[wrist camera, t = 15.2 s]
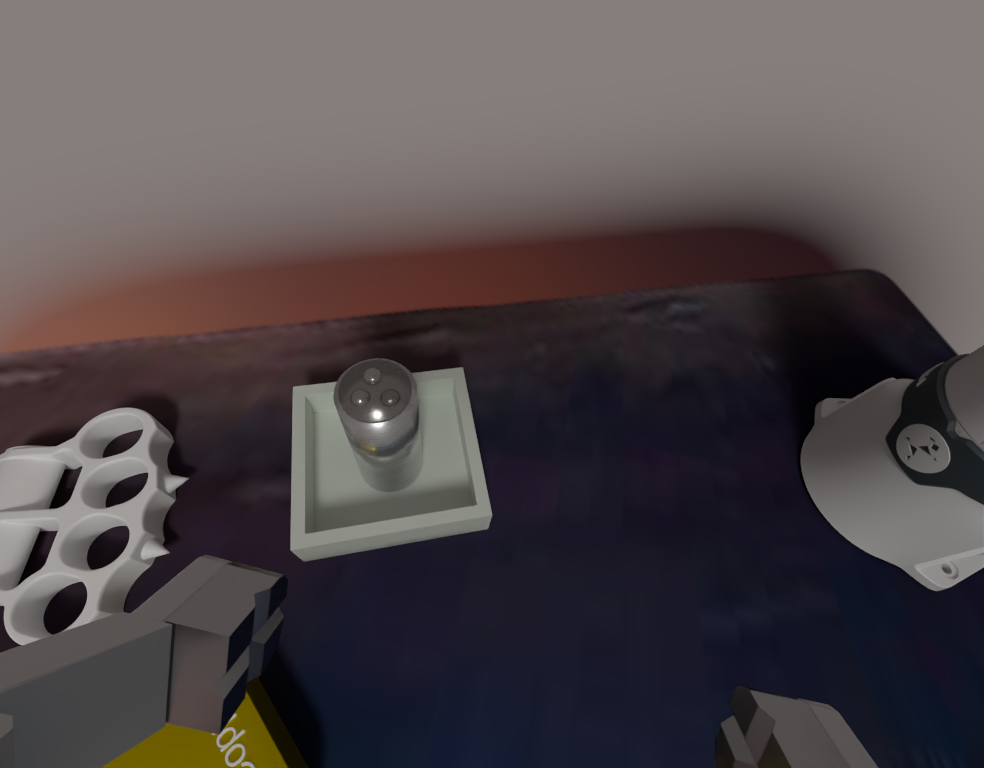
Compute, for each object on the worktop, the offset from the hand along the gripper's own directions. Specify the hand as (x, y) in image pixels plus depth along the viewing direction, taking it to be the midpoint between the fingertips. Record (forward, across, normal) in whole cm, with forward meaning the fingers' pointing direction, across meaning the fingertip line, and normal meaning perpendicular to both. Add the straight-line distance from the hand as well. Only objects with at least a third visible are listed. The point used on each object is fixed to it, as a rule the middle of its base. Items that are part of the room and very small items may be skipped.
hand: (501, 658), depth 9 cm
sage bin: (+32, +10, +12) cm, 36 cm away
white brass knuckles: (+26, +31, +20) cm, 45 cm away
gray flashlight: (+32, +9, +12) cm, 35 cm away
